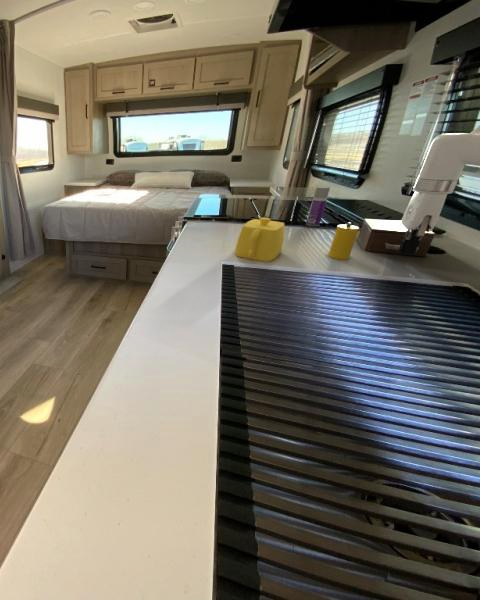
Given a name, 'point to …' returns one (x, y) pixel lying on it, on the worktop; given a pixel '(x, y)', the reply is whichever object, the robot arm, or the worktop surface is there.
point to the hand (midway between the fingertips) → (406, 252)
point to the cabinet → (382, 230)
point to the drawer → (395, 243)
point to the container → (317, 206)
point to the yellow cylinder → (343, 241)
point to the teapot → (260, 240)
